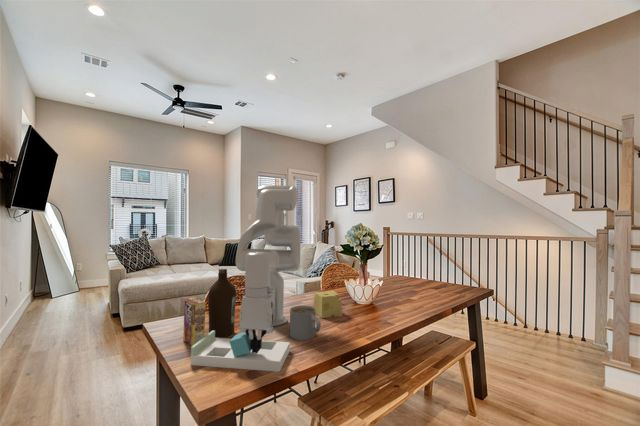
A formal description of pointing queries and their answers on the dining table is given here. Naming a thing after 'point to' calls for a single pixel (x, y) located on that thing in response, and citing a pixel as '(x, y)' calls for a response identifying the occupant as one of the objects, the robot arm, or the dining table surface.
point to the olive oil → (222, 306)
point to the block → (240, 344)
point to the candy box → (194, 320)
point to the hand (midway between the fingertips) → (256, 350)
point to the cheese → (327, 304)
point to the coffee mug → (303, 322)
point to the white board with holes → (221, 355)
